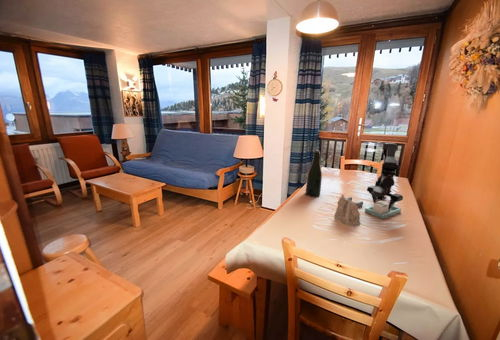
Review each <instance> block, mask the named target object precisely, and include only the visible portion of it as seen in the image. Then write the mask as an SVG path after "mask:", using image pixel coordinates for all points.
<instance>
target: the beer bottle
mask: <svg viewBox="0 0 500 340" xmlns="http://www.w3.org/2000/svg"><path fill="white" fill-rule="evenodd" d="M320 157H321V152H320V150H318V149H316V150H314V152H313V159H312V161H311V165H310V166H309V169H308V171H307V176H306V184H305V194H306V195H307V196H309V197H312V198H313V197H315V198H316V197H320V195H321V191H322V182H323V181H322V180H323V179H322V177H323V171H322V169H321V163H320Z"/></svg>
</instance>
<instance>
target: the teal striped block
mask: <svg viewBox="0 0 500 340" xmlns="http://www.w3.org/2000/svg"><path fill="white" fill-rule="evenodd" d="M389 204H390V199H387V200H379V201H376V202H375V203H373V205H374V207H373V211H375V212H378V213H380V214H385V213H387V212H388V210H390V209H388V207H389Z"/></svg>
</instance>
